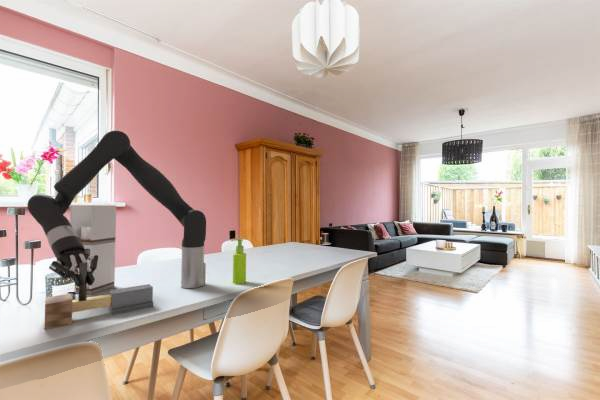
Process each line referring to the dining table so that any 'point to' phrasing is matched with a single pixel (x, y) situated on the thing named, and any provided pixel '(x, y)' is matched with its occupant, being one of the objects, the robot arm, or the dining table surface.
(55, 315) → the socket block
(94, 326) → the dining table surface
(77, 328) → the dining table surface
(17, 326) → the dining table surface
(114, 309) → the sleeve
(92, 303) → the post on wooden plank
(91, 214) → the grey tall box
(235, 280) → the soap dispenser
